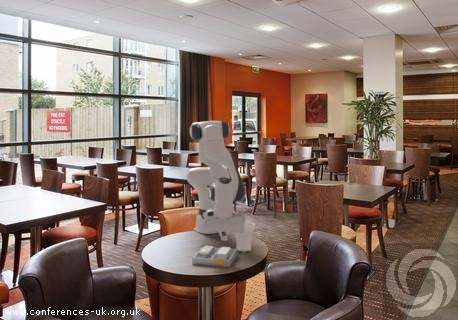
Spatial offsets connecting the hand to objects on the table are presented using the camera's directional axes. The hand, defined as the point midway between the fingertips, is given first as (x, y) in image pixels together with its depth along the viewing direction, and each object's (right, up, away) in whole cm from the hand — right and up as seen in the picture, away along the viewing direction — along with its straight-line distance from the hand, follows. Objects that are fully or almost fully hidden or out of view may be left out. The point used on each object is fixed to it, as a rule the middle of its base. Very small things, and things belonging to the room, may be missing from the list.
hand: (224, 240), depth 193 cm
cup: (+10, -9, +14) cm, 19 cm away
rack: (-4, -10, +1) cm, 11 cm away
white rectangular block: (0, -9, 0) cm, 9 cm away
